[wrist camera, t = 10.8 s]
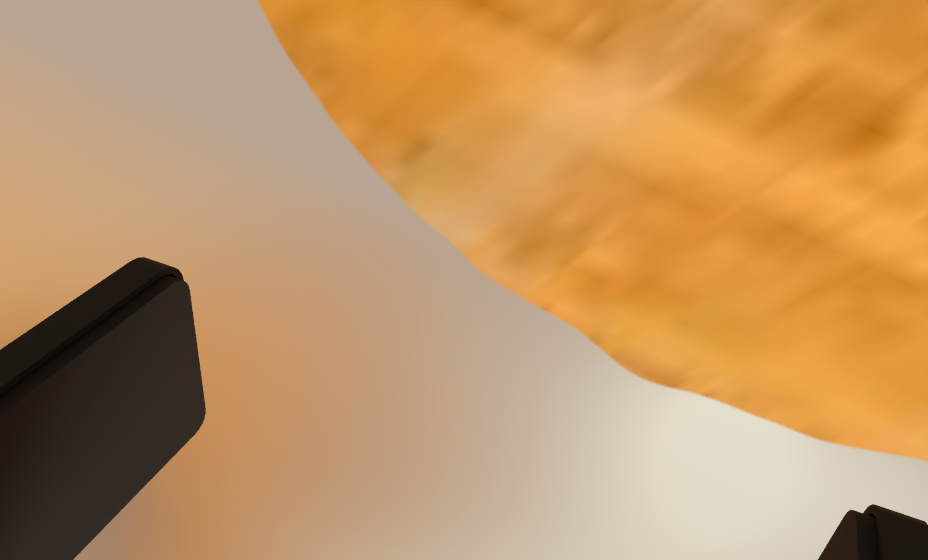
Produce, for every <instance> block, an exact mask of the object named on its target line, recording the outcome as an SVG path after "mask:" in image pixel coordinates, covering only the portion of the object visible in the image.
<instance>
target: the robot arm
mask: <svg viewBox="0 0 928 560" xmlns="http://www.w3.org/2000/svg"><path fill="white" fill-rule="evenodd" d="M205 409H206V408H205V401H204V393H203V386H202V378H201V371H200V363H199V357H198V348H197V341H196V333H195V326H194V318H193V312H192V303H191V296H190V290H189V286H188V284H187V283H186V282H185V281H184V280H183V276H182V274H181V272H180V271H179V270H178V269H176V268H174V267H171V266H168V265H165V264H162V263H159V262H157V261H153V260H150V259H148V258H145V257H142V258H136V259H134V260H132V261H130V262H129V263H127V264H126V265H124V266H123V267H122V268H120V269H119V270H117V271H116V272H114V273H113V274H111V275H110V276H108V277H107V278H106V279H104V280H102V281H101V282H99V283H98V284H96V285H95V286H94V287H92V288H91V289H89V290H88V291H86V292H85V293H83V294H82V295H80V296H79V297H77V298H76V299H74V300H73V301H71V302H70V303H69V304H67V305H66V306H64V307H63V308H61V309H60V310H58V311H57V312H55V313H54V314H52V315H51V316H49V317H48V318H46V319H45V320H44V321H42V322H40V323H39V324H38V325H36V326H35V327H33V328H32V329H30V330H29V331H27V332H26V333H24V334H23V335H21V336H20V337H18V338H17V339H16V340H14V341H13V342H11V343H10V344H8V345H7V346H5V347H4V348H2V349H1V350H0V560H73V559H74V558H75V557H76V556H77V555H78V554H79V553H80V552H81V551H82V550H83V549H84V548H85V547H86V546H87V545H88V544H89V543H90V542H91V541H92V540H93V539H94V538H95V537H96V535H97V534H98V533H99V532H100V531H101V530H102V529H103V528H104V527H105V526H106V525H107V524H108V523H109V522H110V521H111V520H112V519H113V518H114V517H115V516H116V515H117V514H118V513H119V512H120V511H121V510H122V509H123V508H124V507H125V506H126V505H127V504H128V503H129V502H130V501H131V500H132V498H133V497H134V496H135V495H136V494H137V493H138V492H139V491H140V490H141V489H142V488H143V487H144V486H145V485H146V484H147V483H148V482H149V481H150V480H151V479H152V478H153V477H154V476H155V475H156V474H157V473H158V472H159V471H160V470H161V469H162V468H163V466H165V464H167V462H168V461H169V460H170V459H171V458H172V457H173V456H174V455H175V454H176V453H177V452H178V451H179V450H180V449H181V448H182V447H183V446H184V445H185V444H186V443H187V442H188V441H189V439H191V438H192V437H193V436H194V435H195V434H196V432H197V431H198V430H199V428H200V427H201V425H202V423H203V420H204V418H205ZM818 560H928V525H927V523H926V522H924V521H922V520H919V519H915V518H912V517H910V516H907V515H904V514H901V513H898V512H895V511H892V510H889V509H886V508H883V507H880V506H877V505H870V506H869V507H868V508H867V509H866V510H865V511H864V513H860V512H857V511H854V510H850V511H848V512H847V513H846V515H845V516H844V518H843V520H842V521H841V523H840V524H839V526H838V527H837V529H836V531H835V533H834V534H833V536H832V538H831V539H830V541H829V542H828V544H827V546H826V548H825V549H824V551H823V552H822V554H821V555H820V557H819V559H818Z"/></svg>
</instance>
